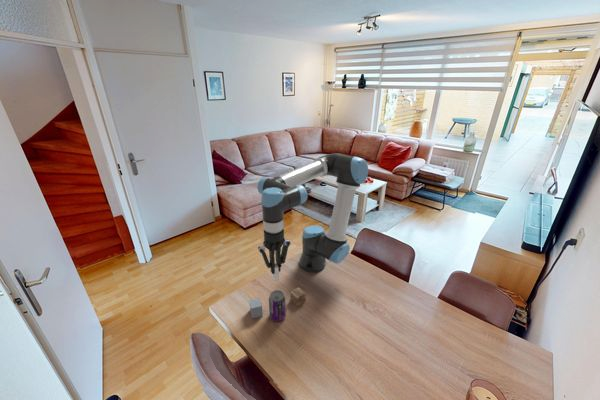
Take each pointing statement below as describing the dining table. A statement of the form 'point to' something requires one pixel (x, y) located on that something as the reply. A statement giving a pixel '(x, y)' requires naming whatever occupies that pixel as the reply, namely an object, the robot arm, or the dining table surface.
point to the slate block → (255, 308)
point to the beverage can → (277, 305)
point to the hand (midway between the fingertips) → (276, 278)
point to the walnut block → (297, 296)
